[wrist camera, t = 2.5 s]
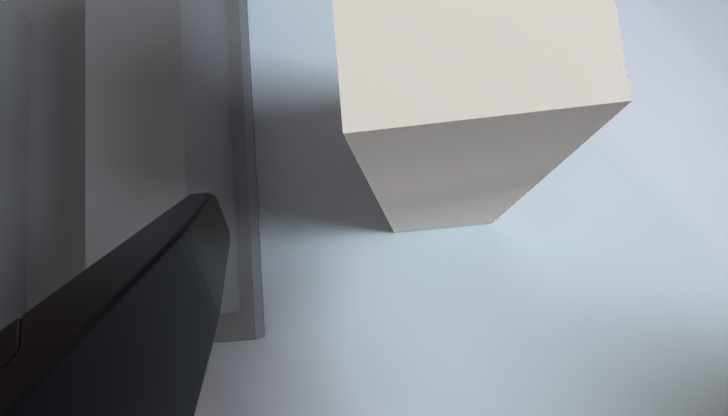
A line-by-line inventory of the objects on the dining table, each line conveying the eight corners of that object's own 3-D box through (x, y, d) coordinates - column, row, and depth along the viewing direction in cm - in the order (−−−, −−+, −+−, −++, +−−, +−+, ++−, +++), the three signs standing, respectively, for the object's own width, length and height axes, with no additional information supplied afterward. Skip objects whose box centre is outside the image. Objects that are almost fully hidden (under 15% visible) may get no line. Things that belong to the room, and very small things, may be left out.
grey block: (492, 223, 18) (631, 100, 6) (394, 232, 19) (342, 133, 7) (475, 90, 19) (570, -254, 7) (382, 101, 20) (314, -209, 7)
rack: (264, 336, 19) (208, 354, 14) (-41, 360, 20) (-192, 384, 15) (245, -19, 21) (192, -113, 16) (-29, 20, 22) (-157, -56, 17)
